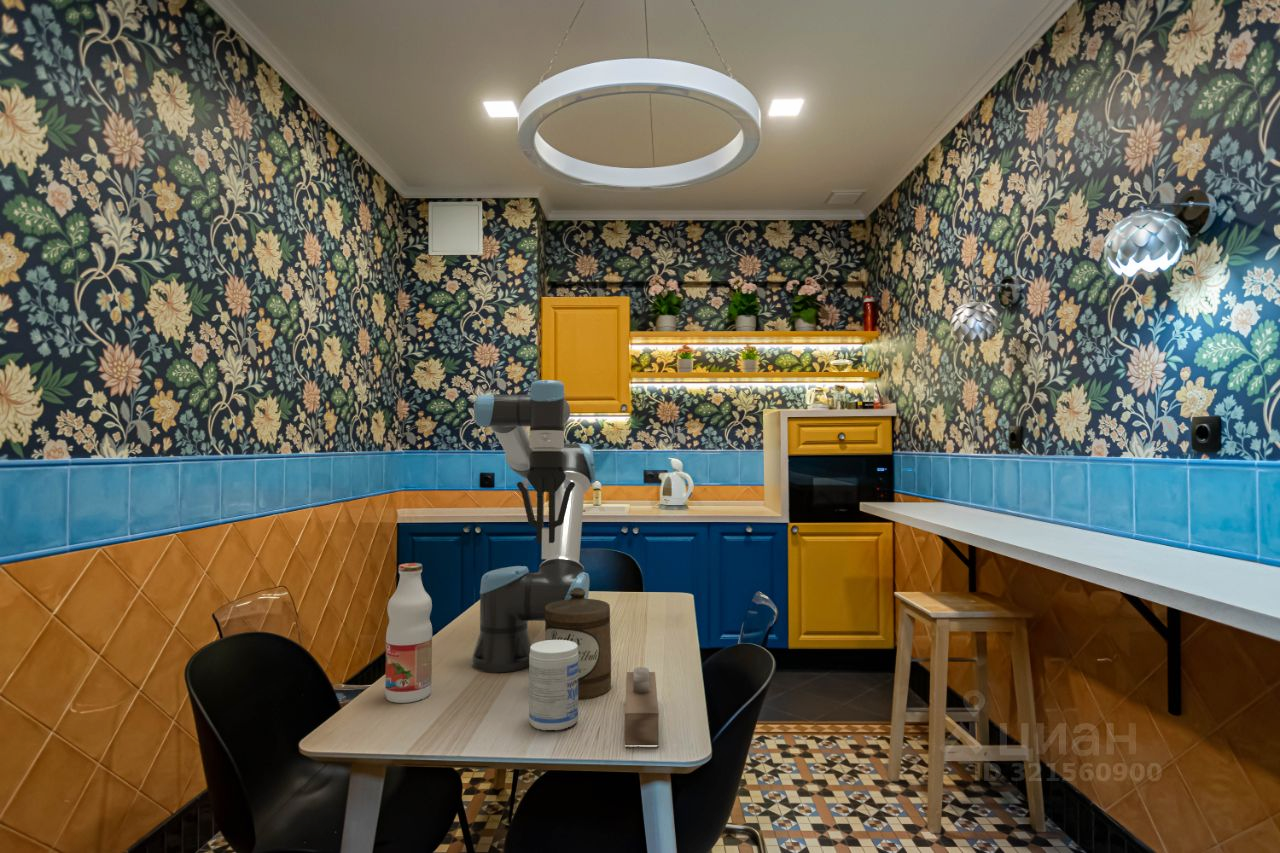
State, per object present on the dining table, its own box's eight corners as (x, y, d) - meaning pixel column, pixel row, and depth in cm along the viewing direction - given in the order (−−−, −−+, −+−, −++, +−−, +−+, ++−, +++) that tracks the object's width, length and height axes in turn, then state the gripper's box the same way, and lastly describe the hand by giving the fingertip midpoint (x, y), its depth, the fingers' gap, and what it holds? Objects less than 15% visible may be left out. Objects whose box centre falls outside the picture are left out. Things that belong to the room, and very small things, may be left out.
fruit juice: (437, 697, 140) (439, 565, 141) (391, 707, 134) (393, 570, 136) (423, 685, 148) (425, 559, 149) (380, 693, 142) (382, 563, 143)
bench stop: (624, 747, 116) (624, 690, 117) (626, 700, 138) (626, 652, 139) (658, 747, 116) (658, 690, 117) (655, 700, 138) (655, 652, 139)
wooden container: (532, 694, 142) (532, 592, 143) (562, 673, 156) (563, 579, 157) (594, 703, 137) (595, 597, 138) (620, 680, 151) (621, 584, 152)
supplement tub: (579, 731, 123) (579, 652, 124) (527, 734, 122) (528, 654, 122) (577, 711, 133) (577, 637, 133) (529, 713, 131) (530, 639, 132)
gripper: (514, 449, 141) (513, 560, 140) (575, 450, 141) (574, 560, 140) (519, 450, 148) (518, 555, 147) (577, 450, 149) (576, 555, 148)
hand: (545, 558), depth 144 cm, fingers closed
